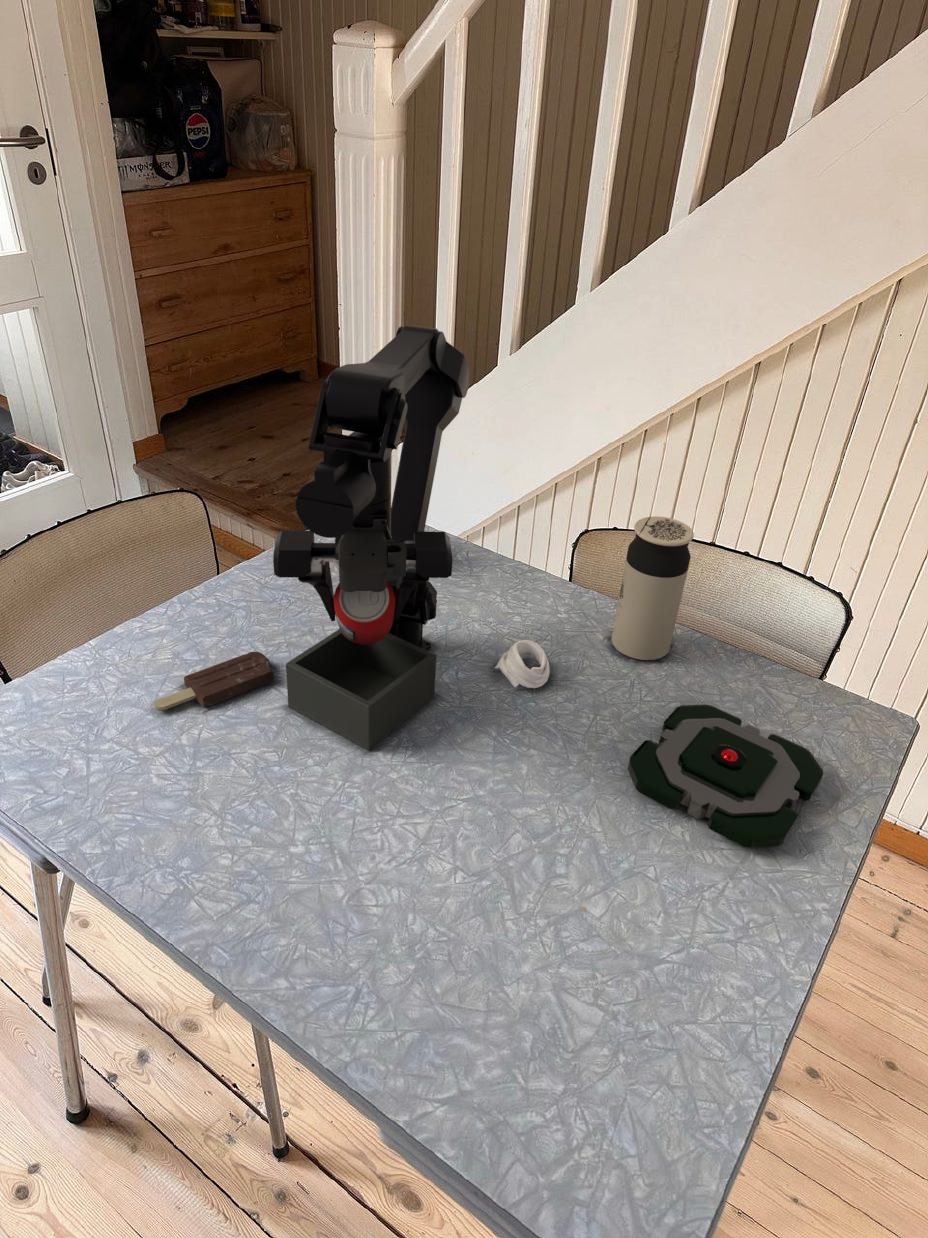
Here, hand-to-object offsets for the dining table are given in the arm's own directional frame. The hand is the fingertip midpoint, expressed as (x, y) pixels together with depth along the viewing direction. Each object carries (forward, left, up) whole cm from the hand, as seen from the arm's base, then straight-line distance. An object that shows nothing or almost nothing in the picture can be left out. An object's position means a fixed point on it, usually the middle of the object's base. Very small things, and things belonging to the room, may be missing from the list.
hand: (364, 619), depth 98 cm
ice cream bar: (+9, -16, -13) cm, 23 cm away
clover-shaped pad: (-15, +40, -13) cm, 44 cm away
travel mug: (-34, +21, -13) cm, 42 cm away
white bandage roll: (-18, +12, -13) cm, 25 cm away
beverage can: (-4, -4, -4) cm, 7 cm away
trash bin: (-1, -1, -13) cm, 13 cm away
